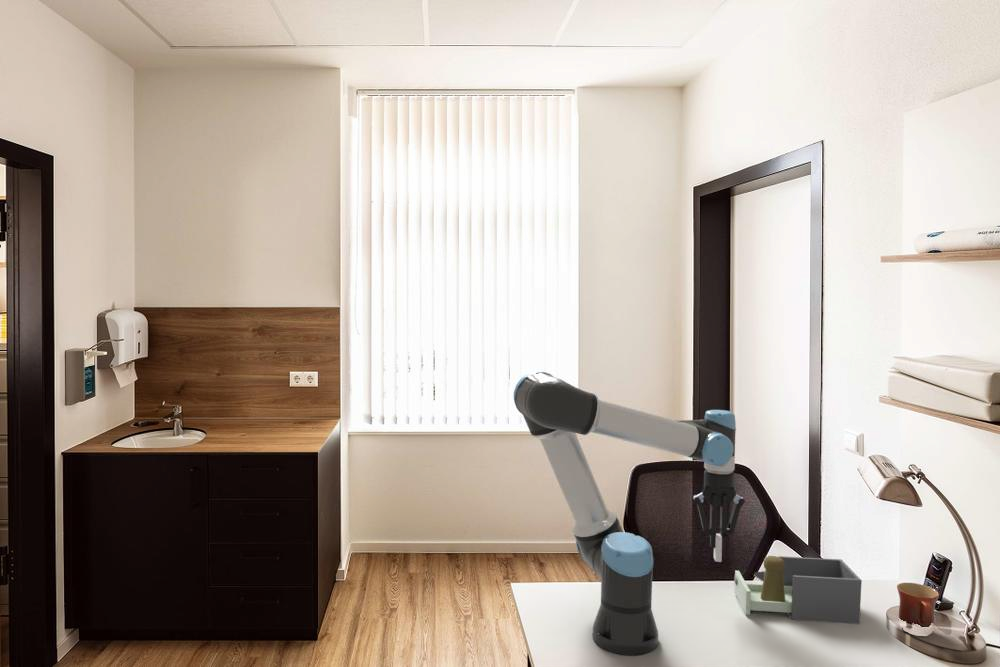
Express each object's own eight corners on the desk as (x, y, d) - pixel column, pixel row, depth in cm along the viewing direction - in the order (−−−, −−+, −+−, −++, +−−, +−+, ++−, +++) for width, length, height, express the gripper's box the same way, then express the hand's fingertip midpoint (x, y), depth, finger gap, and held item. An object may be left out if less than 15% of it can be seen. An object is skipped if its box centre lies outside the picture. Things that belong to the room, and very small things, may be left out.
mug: (889, 621, 177) (891, 580, 176) (928, 624, 175) (930, 584, 175) (907, 644, 165) (909, 601, 165) (948, 648, 164) (951, 605, 163)
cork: (782, 595, 187) (783, 554, 186) (788, 605, 181) (789, 562, 180) (758, 593, 187) (759, 552, 187) (763, 603, 182) (764, 561, 181)
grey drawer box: (792, 619, 177) (793, 576, 176) (777, 596, 191) (778, 556, 190) (859, 623, 175) (861, 580, 175) (839, 599, 189) (841, 559, 188)
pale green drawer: (744, 614, 179) (744, 591, 178) (732, 592, 192) (733, 570, 191) (806, 618, 177) (807, 594, 176) (791, 595, 190) (791, 573, 190)
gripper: (695, 473, 181) (694, 564, 182) (748, 475, 179) (746, 566, 181) (691, 466, 188) (689, 553, 190) (742, 467, 187) (740, 555, 188)
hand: (717, 559), depth 185 cm, fingers closed
